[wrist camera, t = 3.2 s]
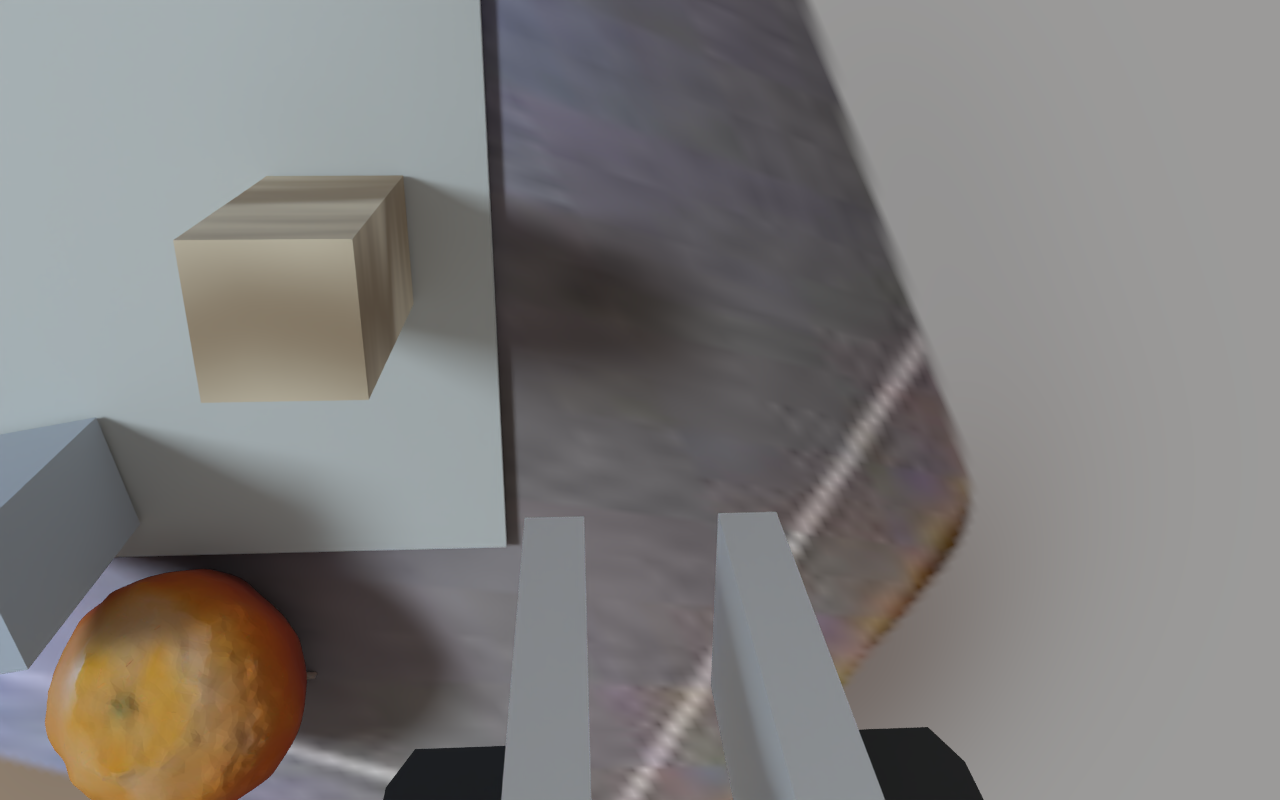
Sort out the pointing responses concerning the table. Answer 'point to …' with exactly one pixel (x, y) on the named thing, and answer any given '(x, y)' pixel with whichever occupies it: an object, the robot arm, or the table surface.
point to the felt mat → (198, 186)
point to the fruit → (177, 691)
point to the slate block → (54, 530)
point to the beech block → (297, 288)
